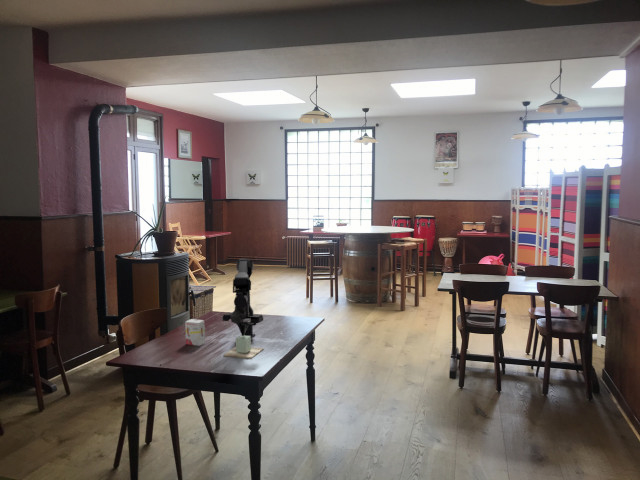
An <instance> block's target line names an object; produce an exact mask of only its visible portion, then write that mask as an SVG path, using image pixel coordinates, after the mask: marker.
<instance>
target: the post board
mask: <svg viewBox="0 0 640 480" xmlns="http://www.w3.org/2000/svg"><path fill="white" fill-rule="evenodd" d="M263 350H264V348H262V347H252V346H251V350H250V351H248V352H247V353H240V352H236V346H235V347H234V348H231V350H229V351H228V352H226V353H225V354H223V357H225V358H226V357H227V358H228V357H229V358H236V359H237V358H238V359H247V360H248V359H249V360H251V359H253V358H255V357H256V356H257V355H259V354H260V353H261V352H263Z"/></svg>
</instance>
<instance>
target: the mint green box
mask: <svg viewBox="0 0 640 480" xmlns="http://www.w3.org/2000/svg"><path fill="white" fill-rule="evenodd" d="M251 340H252V338H251V336H242V334H240V335H239V336H237V337H235V347H236V352H240V353H247V352H248V351H250V350H251V347H252V341H251Z"/></svg>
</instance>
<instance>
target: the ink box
mask: <svg viewBox="0 0 640 480" xmlns="http://www.w3.org/2000/svg"><path fill="white" fill-rule="evenodd" d="M184 324H185V327H184V328H185V344H186V345H189V346H190V345H191V346H196V347H197V346H199V347H200V346H202V345H204V344H206V332H205V331H206V328H205V327H206V326H205V320H203V319H196V318H191V319H188V320H186V321H185V323H184Z"/></svg>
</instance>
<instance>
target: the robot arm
mask: <svg viewBox="0 0 640 480" xmlns="http://www.w3.org/2000/svg"><path fill="white" fill-rule="evenodd" d="M235 264H236V266H235V267H236V268H235V269H236V271H237V273H236V274H235V275H234V278H233V280H232V293H233V294H235V298H234V300H233V304H234V310H233V311H232V312H226V313H224V314H223V315H222V316H221V320H222V321H223V322H229V321H231V323H233V324H235V325H236V326H237V328H238V329H239V332H240V335H242V336H251V339H252V338H254V337H255V336H256V334H255V333H254V329H253V328H254V327H255V326H257V324H260V323H262V322H263V321H264V315H263V314H257V313H256V314H255V313H254V309H253V308H252V306H251V290H252V280H251V276H252V275H253V271H254V261H252V260H250V259H249V258H239V259H238V261H236V262H235Z"/></svg>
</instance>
